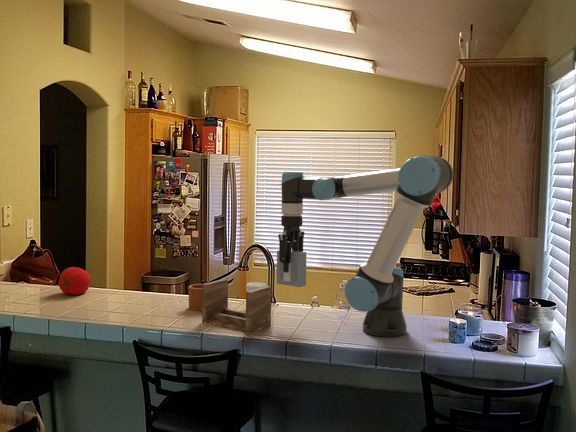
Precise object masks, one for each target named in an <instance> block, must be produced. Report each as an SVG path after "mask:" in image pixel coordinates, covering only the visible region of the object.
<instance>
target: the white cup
mask: <svg viewBox="0 0 576 432" xmlns="http://www.w3.org/2000/svg"><path fill="white" fill-rule="evenodd" d="M245 286H246V292H247V291H250V290H254V289H258V288H261V287H265V286H267V284H266V283H265V282H259V281H258V282H255V281H254V282H248V283H246V285H245Z"/></svg>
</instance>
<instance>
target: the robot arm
mask: <svg viewBox="0 0 576 432" xmlns="http://www.w3.org/2000/svg"><path fill="white" fill-rule="evenodd" d="M453 169H454V168H453V166H452V165H451V163H450V162H449V161H448V160H447V159H445V158H443V157H440V156H432V155H431V156H430V155H416V156H413V157H410V158H409V159H406V161H405V162H404V163H403V164H402V165H401V166H400V168H391V169H384V170H377V171H370V172H369V171H368V172H361V173H356V174H355V173H354V174H349V175H339V176H332V177H331V176H330V177H325V176H324V177H306V176H305V177H304V172H303V171H291V170H289V171H286V170H285V171H284V172H282V174H281V184H280V185H281V214H282V215H281V216H280V219H281V222H280V225H281V226H282V227H283V231H282V233H279V234H277V235H278V236H277V237H278V241H279V242H278V243H279V245H278V247H279V261H280V262H281V263H283V271H284V281H288V282H291V263H290V257H291V250H293V251H302V252H304V237H305V231H302V230H301V227H303V213H304V210H303V208H304V207H303V201H304V200H306V199H307V200H318V201H327V200H328V201H329V200H331V199H341V198H346V197H357V196H364V195H372V194H373V195H374V194H384V193H391V192H394V193H395V192H396V194H397V198H396V201H395V202H394V204H393V206H392V208H391V211H390V213H389V215H388V218H386V222H385V223H384V225H383V228H382V230H381V232H380V234H379V236H378V238H377V240H376V243H375V244H374V247H373V249H372V251H371V253H370V254H369V255H370V256H369V257H368V260H367V261H364V262H362V263H361V264H360V265H359V267H358V269H357V271H356V274H355V275H354V276H353V277H352V276H351V278H350V279H349V280H348V281H347V282H346V283H345V286H344V296H345V297H346V301H347V303H348V304H349V306H351V308H353V309H354V310H355V311H358V312H361V313H362V312H363V313H364V312H366V314H365V317H364V320H363V322H362V331H363V332H364V333H365V334H367V335H372V336H375V337H381V338H394V337H395V338H396V337H402V336H405V335H406V334H407V332H408V331H407V329H408V327H407V322H406V319H405V315H404V312H403V297H404V296H403V294H404V279H405V277H404V270H403V268H401V267H398V266H396V265H397V263H398V261H399V259H400V257H401V255H402V253H403V251H404V249H405V248H406V245H407V243H408V241H409V239H410V236H411V235H412V233H413V230H414V229H415V227H416V225H417V224H418V223H417V222H418V221H419V219H420V217H421V215H422V213H423V211H424V209H425V208H429V207H431V206H432V204H433V201H434V200H435V198H436V195H437V194H438V193H441V192H444V191H445V190H447V189H448V188H449V187H450V186H451V185H452V183H453V179H454V170H453Z"/></svg>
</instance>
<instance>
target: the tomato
mask: <svg viewBox="0 0 576 432" xmlns="http://www.w3.org/2000/svg"><path fill="white" fill-rule="evenodd" d="M91 281H92V279H91V276H90V274H89V272H88V271H86V270H84V269H83V268H81V267H76V266H72V267H67V268H65V269H64V270H63V271H62V272H61V274H60V278H59V280H58V287H59V289H60V291H61V292H62V293H63V294H66V295H74V296H76V295H77V296H78V295H83V294H84V293H86V292H87V291H88V290H89V288H90V285H91Z"/></svg>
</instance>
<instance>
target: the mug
mask: <svg viewBox="0 0 576 432" xmlns="http://www.w3.org/2000/svg"><path fill="white" fill-rule="evenodd" d="M202 284H203V283H195V284H190V285H188V288H187V289H188V310H189V309H190V311H192V310H193V312H202Z"/></svg>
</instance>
